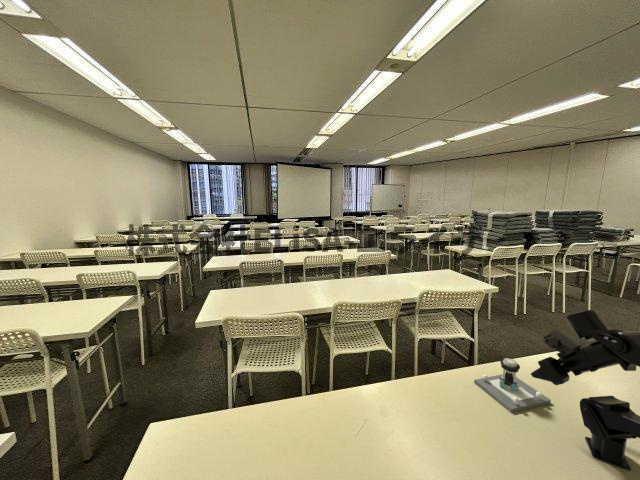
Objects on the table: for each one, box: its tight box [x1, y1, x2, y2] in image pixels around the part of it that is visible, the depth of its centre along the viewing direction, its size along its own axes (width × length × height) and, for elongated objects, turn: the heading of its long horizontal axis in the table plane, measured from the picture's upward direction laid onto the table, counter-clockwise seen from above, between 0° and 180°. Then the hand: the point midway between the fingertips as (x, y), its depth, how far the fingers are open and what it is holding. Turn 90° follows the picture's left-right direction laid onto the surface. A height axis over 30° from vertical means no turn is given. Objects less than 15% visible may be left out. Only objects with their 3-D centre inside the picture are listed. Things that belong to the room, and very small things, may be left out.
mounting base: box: [473, 370, 552, 413], centre depth 87 cm, size 14×16×3 cm
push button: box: [499, 357, 523, 392], centre depth 86 cm, size 7×5×10 cm
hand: (540, 371), depth 78 cm, fingers open, 9 cm apart
